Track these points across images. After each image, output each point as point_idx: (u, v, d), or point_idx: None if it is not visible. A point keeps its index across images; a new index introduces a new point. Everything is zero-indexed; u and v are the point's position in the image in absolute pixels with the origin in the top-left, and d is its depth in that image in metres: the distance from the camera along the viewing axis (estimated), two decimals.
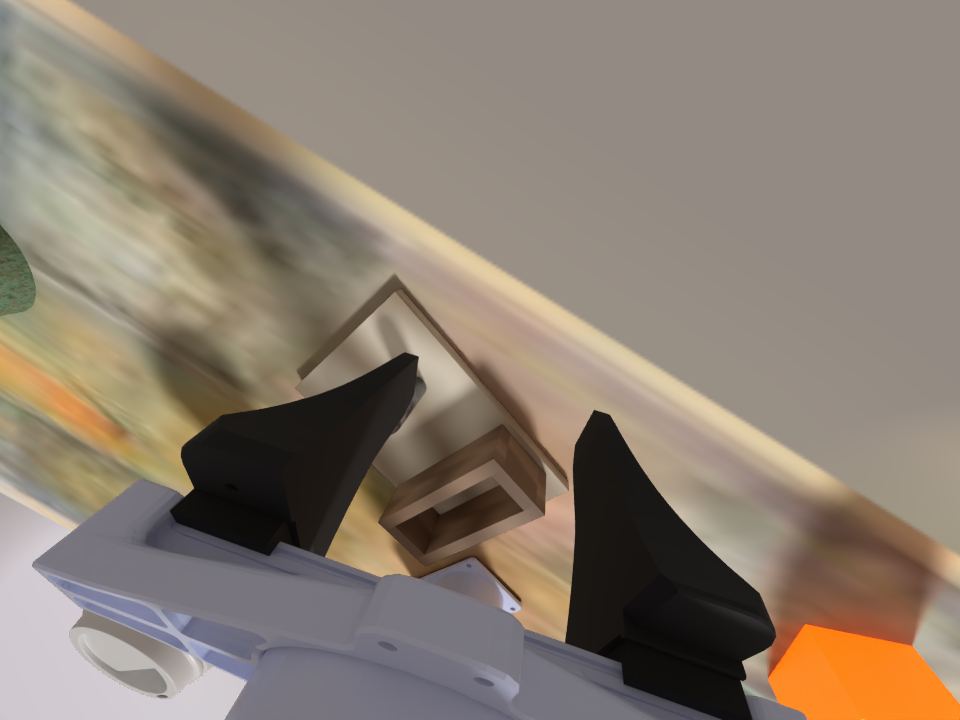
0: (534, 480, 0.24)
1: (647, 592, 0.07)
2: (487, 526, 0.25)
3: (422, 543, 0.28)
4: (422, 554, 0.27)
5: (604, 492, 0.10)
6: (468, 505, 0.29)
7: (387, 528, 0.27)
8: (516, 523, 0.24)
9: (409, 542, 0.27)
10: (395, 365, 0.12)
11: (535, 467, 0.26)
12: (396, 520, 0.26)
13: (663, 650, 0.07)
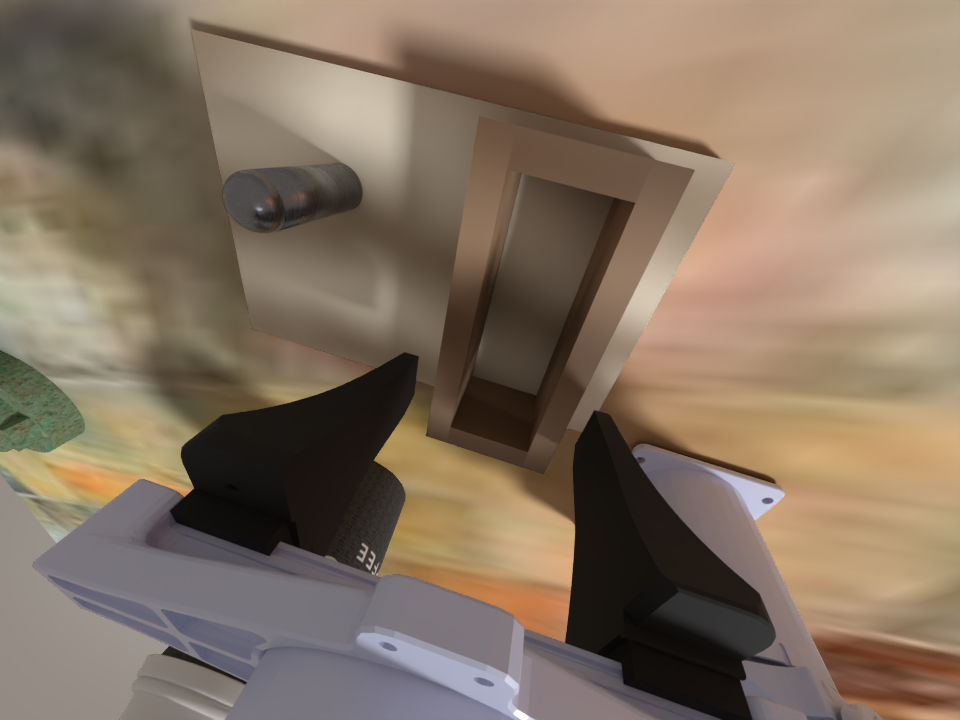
0: None
1: (646, 592, 0.07)
2: (587, 313, 0.11)
3: (516, 437, 0.15)
4: (524, 453, 0.15)
5: (604, 492, 0.10)
6: (559, 341, 0.15)
7: (445, 438, 0.15)
8: (640, 254, 0.09)
9: (490, 443, 0.15)
10: (395, 365, 0.12)
11: None
12: (444, 414, 0.14)
13: (663, 650, 0.07)
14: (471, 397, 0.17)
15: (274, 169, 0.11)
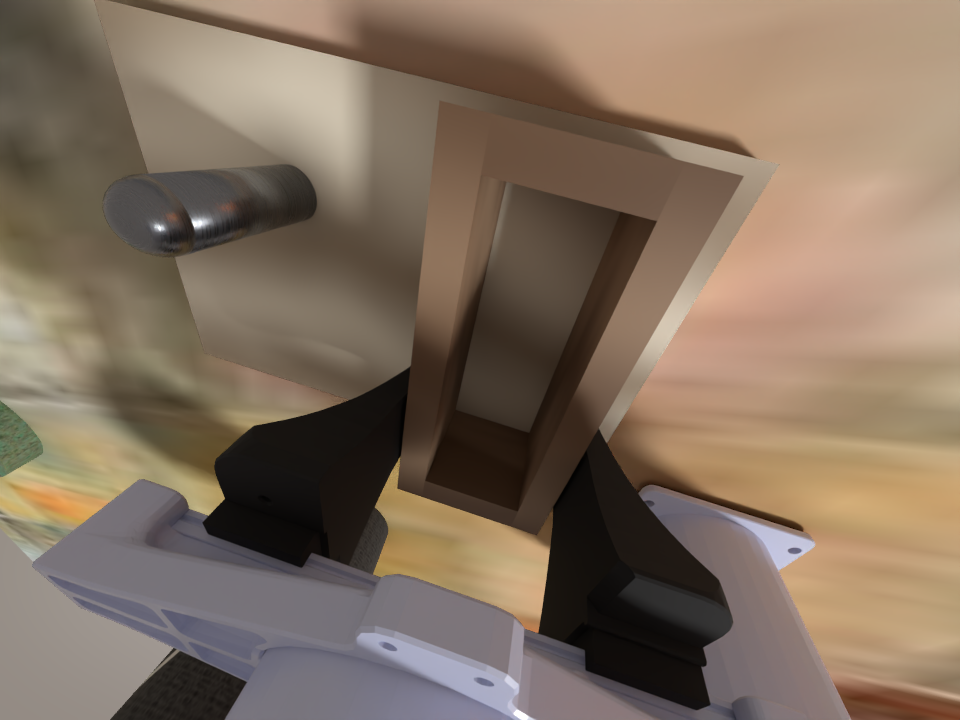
0: None
1: (608, 579, 0.07)
2: (590, 358, 0.08)
3: (504, 491, 0.13)
4: (513, 512, 0.12)
5: (578, 484, 0.10)
6: (555, 376, 0.13)
7: (419, 491, 0.13)
8: (661, 289, 0.07)
9: (473, 499, 0.12)
10: None
11: None
12: (416, 467, 0.12)
13: (626, 637, 0.07)
14: (452, 438, 0.14)
15: (181, 173, 0.08)
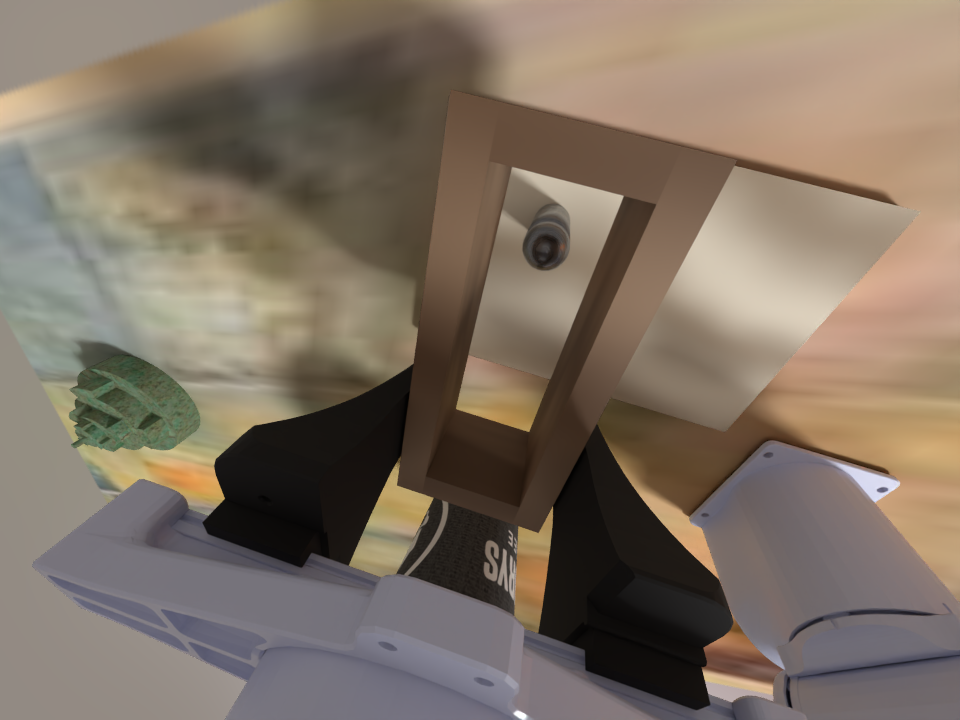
0: None
1: (607, 579, 0.07)
2: (592, 343, 0.09)
3: (506, 488, 0.13)
4: (515, 508, 0.12)
5: (578, 484, 0.10)
6: (556, 372, 0.13)
7: (419, 488, 0.13)
8: (661, 271, 0.07)
9: (474, 495, 0.12)
10: None
11: None
12: (417, 461, 0.12)
13: (626, 637, 0.07)
14: (453, 436, 0.14)
15: (556, 219, 0.13)
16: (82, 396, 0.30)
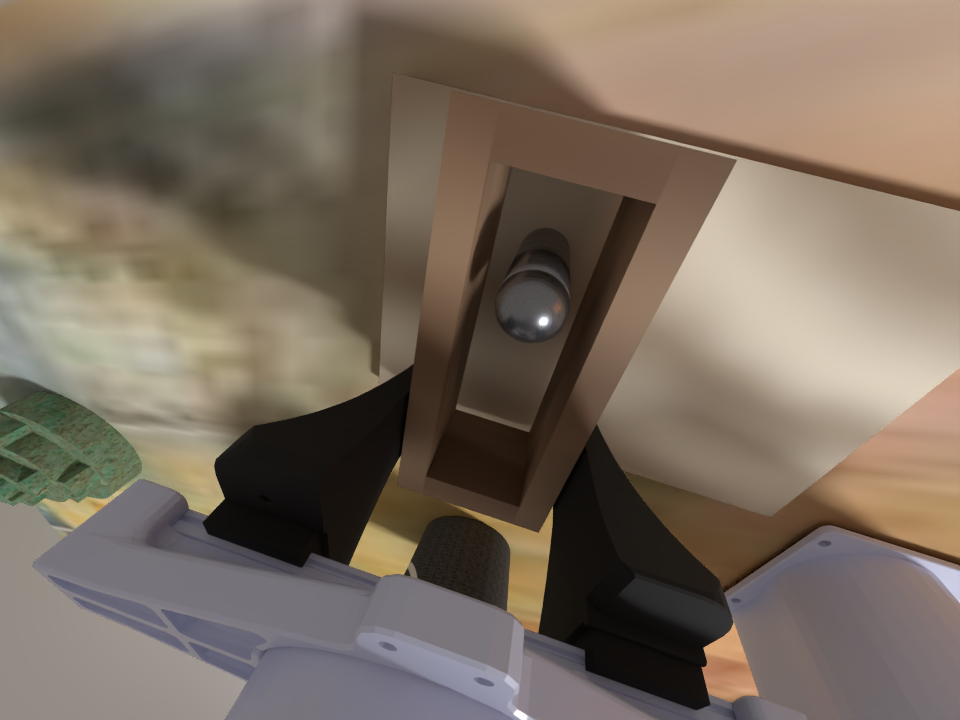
0: None
1: (608, 579, 0.07)
2: (592, 343, 0.09)
3: (506, 488, 0.13)
4: (515, 508, 0.12)
5: (578, 484, 0.10)
6: (556, 372, 0.13)
7: (419, 488, 0.13)
8: (661, 271, 0.07)
9: (474, 495, 0.12)
10: None
11: None
12: (417, 461, 0.12)
13: (626, 637, 0.07)
14: (453, 436, 0.14)
15: (547, 262, 0.08)
16: None
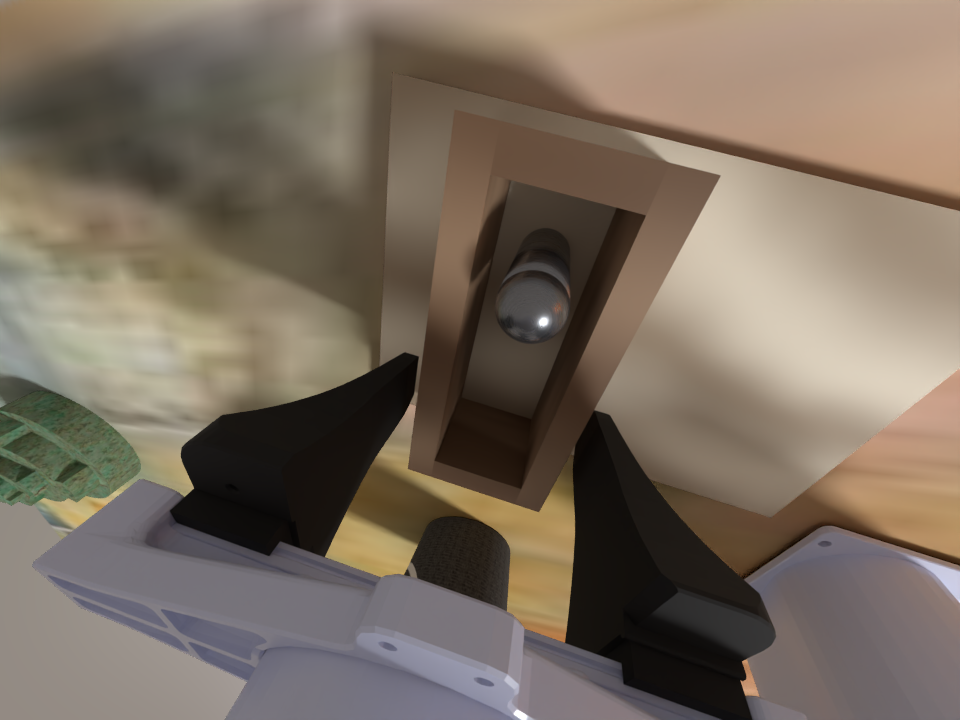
0: None
1: (647, 592, 0.07)
2: (587, 341, 0.09)
3: (508, 471, 0.13)
4: (517, 490, 0.13)
5: (604, 492, 0.10)
6: (556, 363, 0.14)
7: (429, 471, 0.14)
8: (651, 276, 0.08)
9: (479, 478, 0.13)
10: (395, 365, 0.12)
11: None
12: (426, 447, 0.13)
13: (664, 651, 0.07)
14: (459, 423, 0.15)
15: (547, 262, 0.08)
16: None
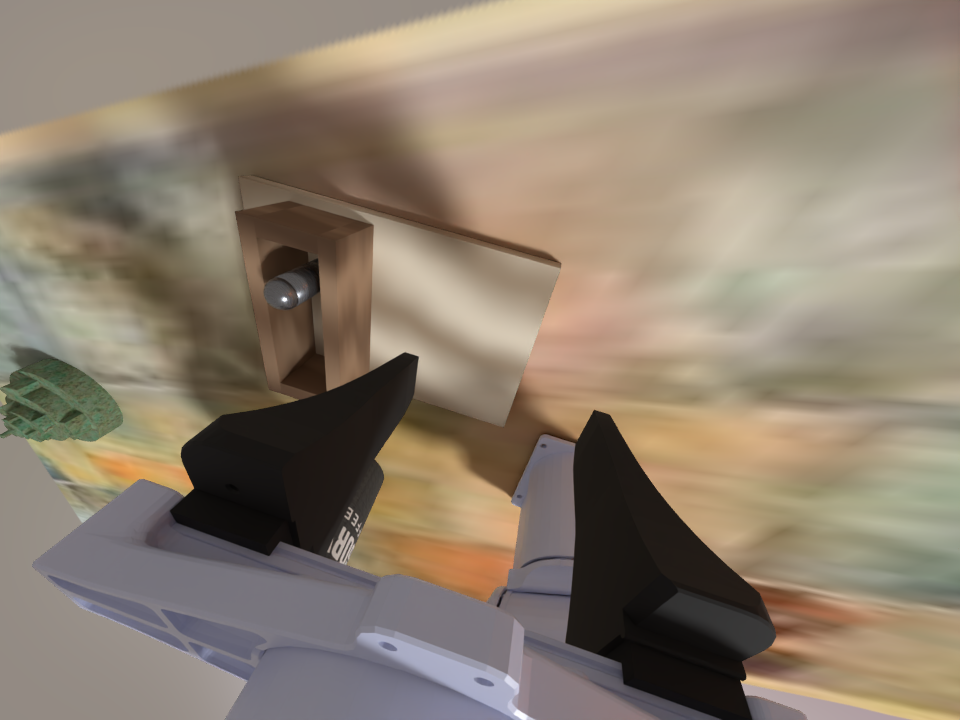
0: (333, 225, 0.19)
1: (647, 592, 0.07)
2: (322, 310, 0.19)
3: (324, 390, 0.24)
4: None
5: (604, 492, 0.10)
6: None
7: (279, 390, 0.24)
8: (331, 280, 0.18)
9: (305, 392, 0.23)
10: (395, 365, 0.12)
11: (347, 220, 0.20)
12: (273, 374, 0.23)
13: (663, 650, 0.07)
14: (306, 366, 0.25)
15: (292, 273, 0.19)
16: (10, 394, 0.35)
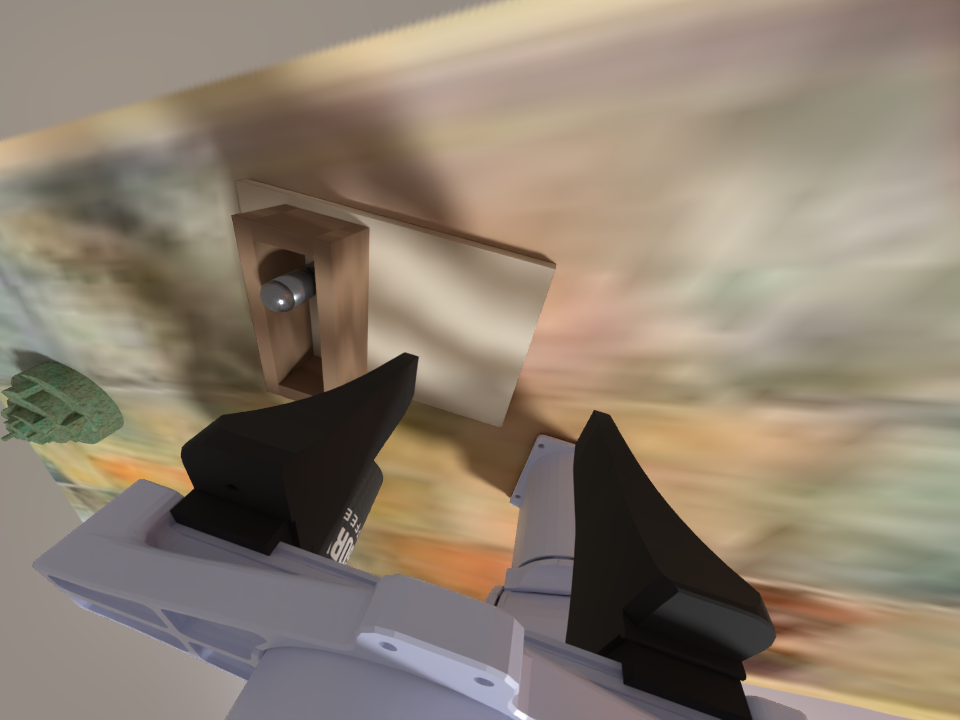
0: (329, 228, 0.19)
1: (647, 592, 0.07)
2: (319, 313, 0.20)
3: (322, 391, 0.24)
4: None
5: (604, 492, 0.10)
6: None
7: (278, 392, 0.24)
8: (327, 282, 0.18)
9: (303, 394, 0.23)
10: (395, 365, 0.12)
11: (343, 223, 0.20)
12: (271, 376, 0.23)
13: (664, 651, 0.07)
14: (304, 368, 0.25)
15: (288, 276, 0.19)
16: (12, 397, 0.35)
